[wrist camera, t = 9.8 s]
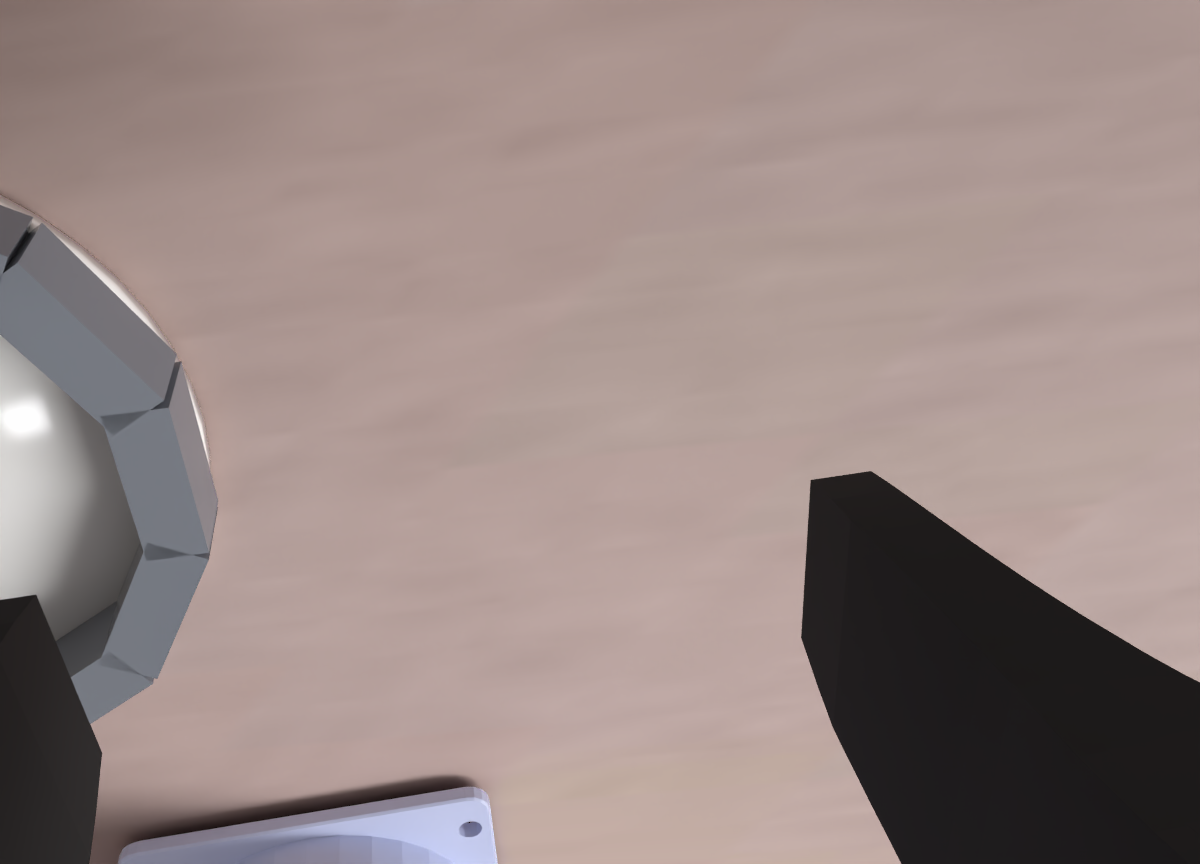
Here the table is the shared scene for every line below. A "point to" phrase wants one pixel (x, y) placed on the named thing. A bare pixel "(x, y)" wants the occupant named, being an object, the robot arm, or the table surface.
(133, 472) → the ring dish
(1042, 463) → the table surface
